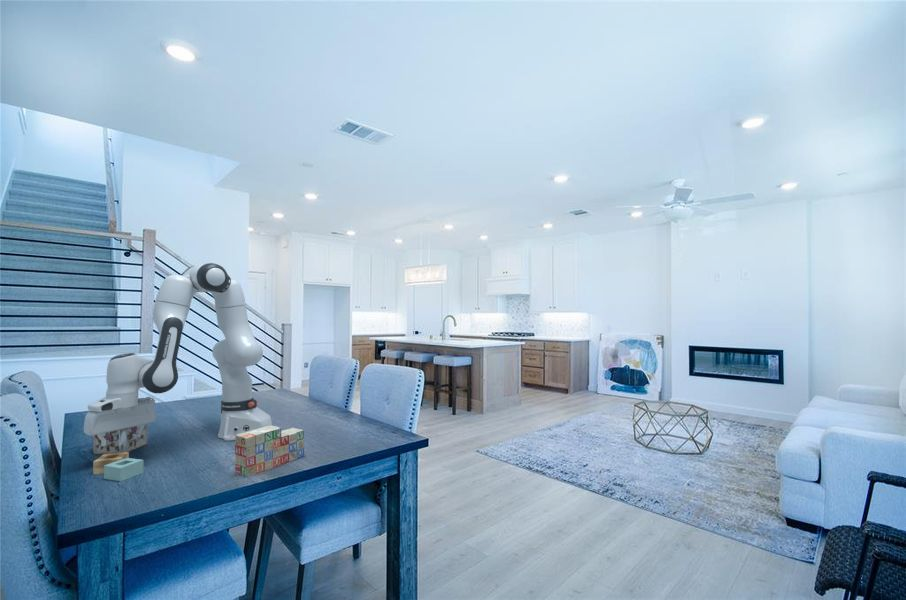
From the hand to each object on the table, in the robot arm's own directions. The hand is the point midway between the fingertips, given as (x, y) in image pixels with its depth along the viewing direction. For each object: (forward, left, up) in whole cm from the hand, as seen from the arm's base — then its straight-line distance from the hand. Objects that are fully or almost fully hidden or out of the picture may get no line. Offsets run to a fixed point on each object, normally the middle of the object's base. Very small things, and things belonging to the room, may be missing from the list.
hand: (121, 441), depth 146 cm
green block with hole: (-10, +14, -6) cm, 18 cm away
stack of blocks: (-53, +7, -7) cm, 54 cm away
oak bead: (-2, +8, -6) cm, 10 cm away
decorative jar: (+9, -12, -7) cm, 17 cm away
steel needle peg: (0, 0, -6) cm, 6 cm away
